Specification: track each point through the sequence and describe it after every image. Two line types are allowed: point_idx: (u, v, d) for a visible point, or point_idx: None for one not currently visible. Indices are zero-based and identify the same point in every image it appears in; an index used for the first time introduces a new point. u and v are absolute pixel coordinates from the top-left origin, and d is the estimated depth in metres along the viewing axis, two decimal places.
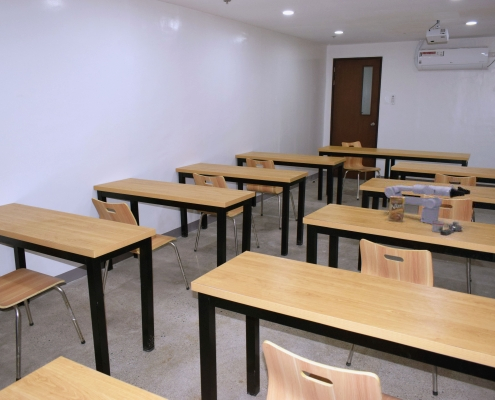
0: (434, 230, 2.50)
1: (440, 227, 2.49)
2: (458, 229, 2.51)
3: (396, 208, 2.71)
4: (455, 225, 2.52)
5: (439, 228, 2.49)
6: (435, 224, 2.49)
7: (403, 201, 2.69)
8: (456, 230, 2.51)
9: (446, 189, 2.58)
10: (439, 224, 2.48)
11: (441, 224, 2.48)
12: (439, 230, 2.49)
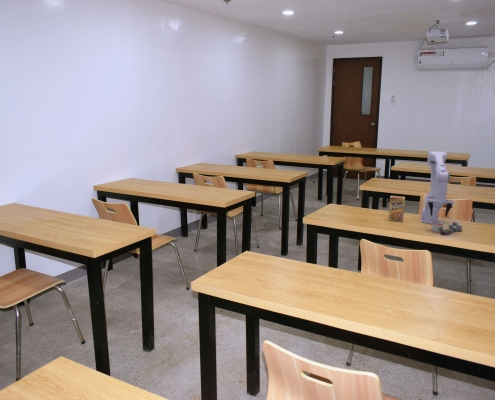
0: (434, 230, 2.50)
1: (440, 227, 2.49)
2: (458, 229, 2.51)
3: (396, 208, 2.71)
4: (455, 225, 2.52)
5: (439, 228, 2.49)
6: (435, 224, 2.49)
7: (403, 201, 2.69)
8: (456, 230, 2.51)
9: (436, 197, 2.47)
10: (439, 224, 2.48)
11: (441, 224, 2.48)
12: (439, 230, 2.49)
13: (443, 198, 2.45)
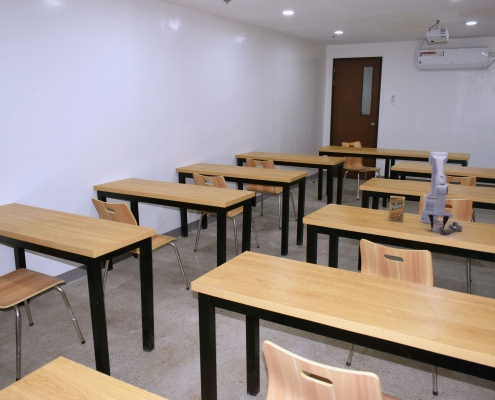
0: (434, 230, 2.50)
1: (440, 227, 2.49)
2: (458, 229, 2.51)
3: (396, 208, 2.71)
4: (455, 225, 2.52)
5: (439, 228, 2.49)
6: (435, 224, 2.49)
7: (403, 201, 2.69)
8: (456, 230, 2.51)
9: (435, 210, 2.49)
10: (439, 224, 2.48)
11: (441, 224, 2.48)
12: (439, 230, 2.49)
13: (442, 211, 2.47)
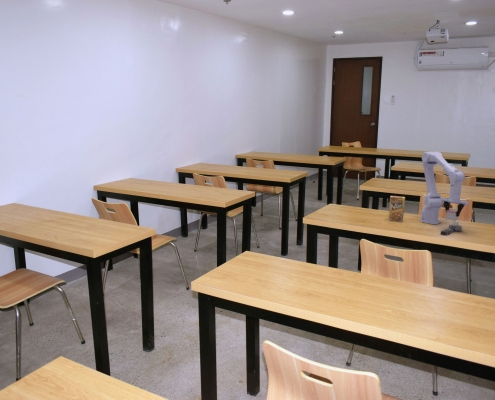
0: (447, 218, 2.51)
1: (453, 215, 2.49)
2: (458, 229, 2.51)
3: (396, 208, 2.71)
4: (455, 225, 2.52)
5: (452, 216, 2.49)
6: (448, 212, 2.50)
7: (403, 201, 2.69)
8: (456, 230, 2.51)
9: (449, 196, 2.50)
10: (452, 212, 2.49)
11: (454, 212, 2.48)
12: (452, 218, 2.49)
13: (455, 198, 2.47)
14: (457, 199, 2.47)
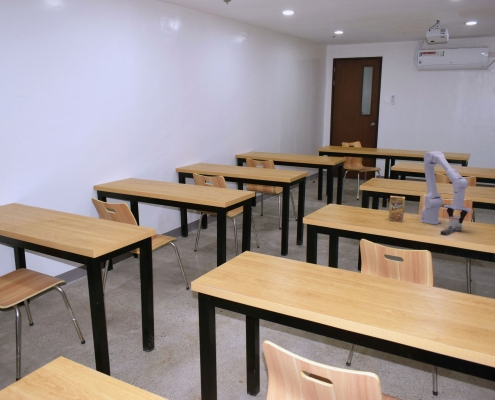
0: (450, 224, 2.53)
1: (456, 222, 2.50)
2: (458, 229, 2.51)
3: (396, 208, 2.71)
4: None
5: (455, 223, 2.51)
6: (451, 218, 2.52)
7: (403, 201, 2.69)
8: (456, 230, 2.51)
9: None
10: (455, 219, 2.50)
11: (457, 219, 2.50)
12: (455, 225, 2.51)
13: (458, 204, 2.48)
14: (460, 206, 2.48)
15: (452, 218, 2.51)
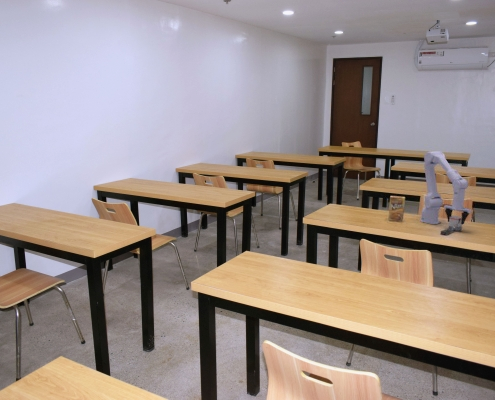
0: (450, 224, 2.53)
1: (456, 222, 2.50)
2: (458, 229, 2.51)
3: (396, 208, 2.71)
4: None
5: (455, 223, 2.51)
6: (451, 219, 2.52)
7: (403, 201, 2.69)
8: (456, 230, 2.51)
9: (452, 204, 2.52)
10: (455, 219, 2.50)
11: (457, 219, 2.50)
12: (455, 225, 2.51)
13: (458, 205, 2.48)
14: (460, 207, 2.48)
15: (452, 218, 2.52)
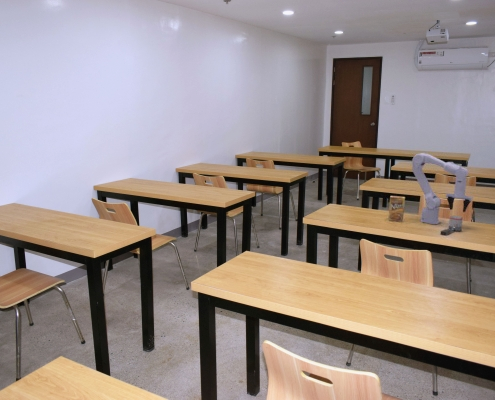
0: (450, 224, 2.53)
1: (456, 222, 2.50)
2: (458, 229, 2.51)
3: (396, 208, 2.71)
4: None
5: (455, 223, 2.51)
6: (451, 219, 2.52)
7: (403, 201, 2.69)
8: (456, 230, 2.51)
9: (454, 192, 2.58)
10: (455, 219, 2.50)
11: (457, 219, 2.50)
12: (455, 225, 2.51)
13: (460, 193, 2.55)
14: (461, 195, 2.55)
15: (452, 218, 2.52)
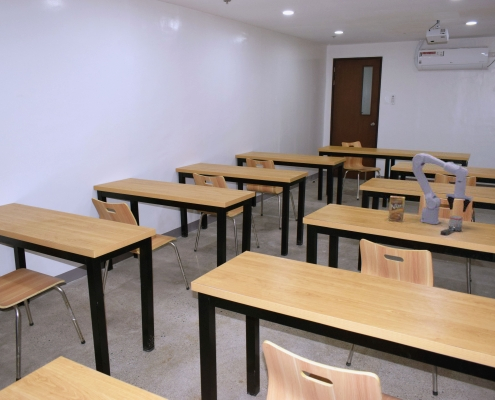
0: (450, 224, 2.53)
1: (456, 222, 2.50)
2: (458, 229, 2.51)
3: (396, 208, 2.71)
4: None
5: (455, 223, 2.51)
6: (451, 219, 2.52)
7: (403, 201, 2.69)
8: (456, 230, 2.51)
9: (454, 192, 2.58)
10: (455, 219, 2.50)
11: (457, 219, 2.50)
12: (455, 225, 2.51)
13: (460, 193, 2.55)
14: (461, 195, 2.55)
15: (452, 218, 2.52)
